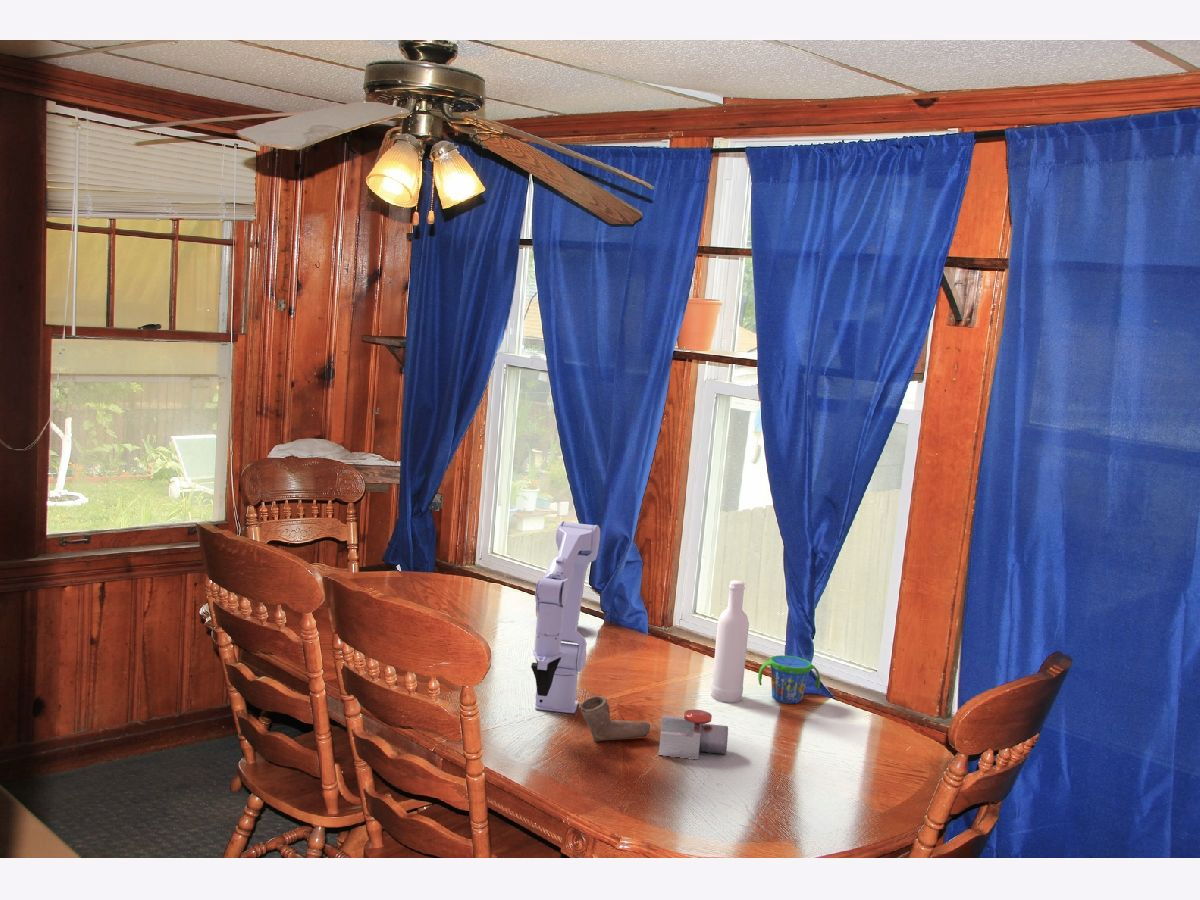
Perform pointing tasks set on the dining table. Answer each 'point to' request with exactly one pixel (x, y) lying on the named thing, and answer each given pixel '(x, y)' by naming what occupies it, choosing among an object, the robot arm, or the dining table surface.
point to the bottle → (731, 648)
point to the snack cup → (788, 677)
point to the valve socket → (691, 735)
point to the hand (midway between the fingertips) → (544, 691)
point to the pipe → (609, 722)
